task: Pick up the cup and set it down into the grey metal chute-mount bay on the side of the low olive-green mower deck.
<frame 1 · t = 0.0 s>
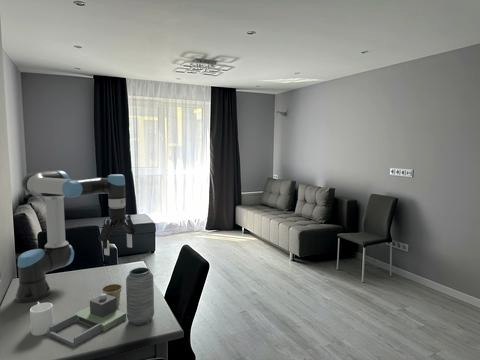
hand: (118, 250, 155), 28 cm above the table, fingers open, 13 cm apart
flower pot: (112, 305, 160), on the table
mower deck: (100, 318, 146), on the table
vase: (140, 320, 145), on the table
cup: (41, 328, 139), on the table
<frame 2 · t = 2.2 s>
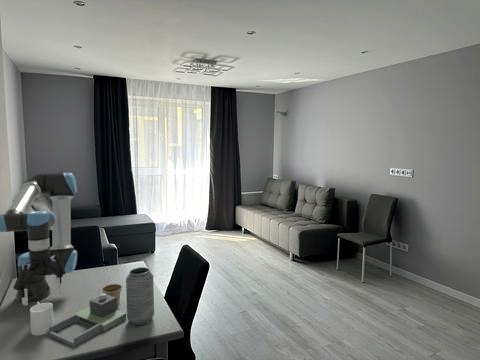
hand: (42, 297, 136), 14 cm above the table, fingers open, 13 cm apart
nothing on the table moved.
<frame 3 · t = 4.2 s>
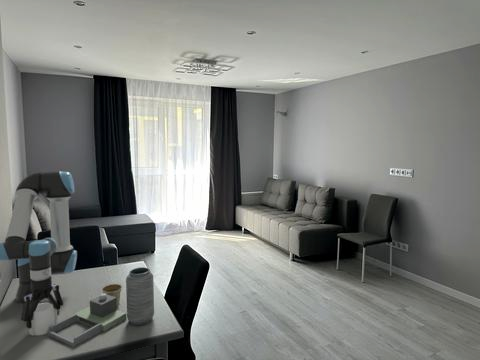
hand: (43, 328, 138), 0 cm above the table, fingers open, 9 cm apart
cup: (41, 328, 139), on the table, touching gripper
everything else where it was.
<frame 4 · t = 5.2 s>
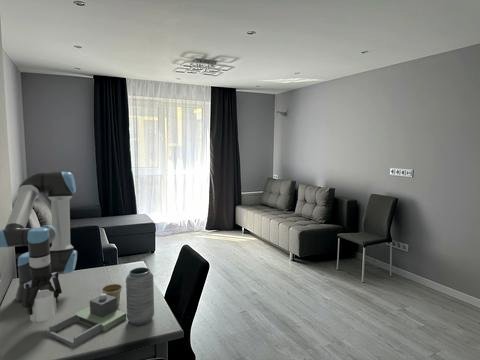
hand: (43, 315, 138), 6 cm above the table, fingers closed on cup, 8 cm apart
cup: (42, 315, 140), point 5 cm above the table, touching gripper
everything else where it was.
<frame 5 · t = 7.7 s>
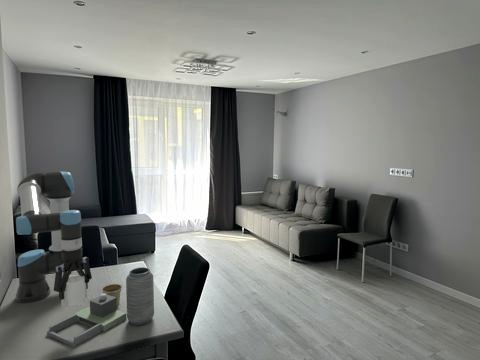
hand: (74, 301, 134), 13 cm above the table, fingers closed on cup, 8 cm apart
cup: (73, 301, 136), point 13 cm above the table, touching gripper
everything else where it was.
when the fingers open (3 cm above the table, at t = 10.3 s): cup drops 2 cm, resting in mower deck.
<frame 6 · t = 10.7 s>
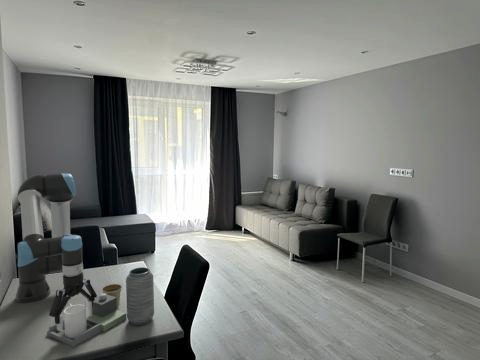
hand: (75, 322, 135), 4 cm above the table, fingers open, 13 cm apart
cup: (74, 330, 137), resting in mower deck
everything else where it was.
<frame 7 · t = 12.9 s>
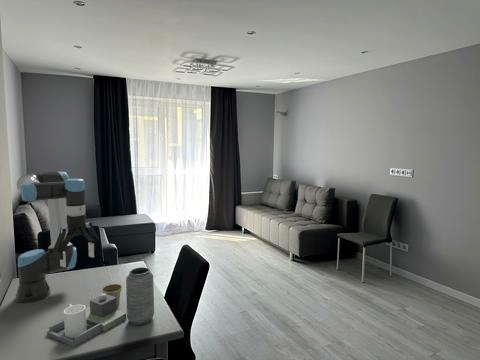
hand: (77, 261, 143), 27 cm above the table, fingers open, 13 cm apart
nothing on the table moved.
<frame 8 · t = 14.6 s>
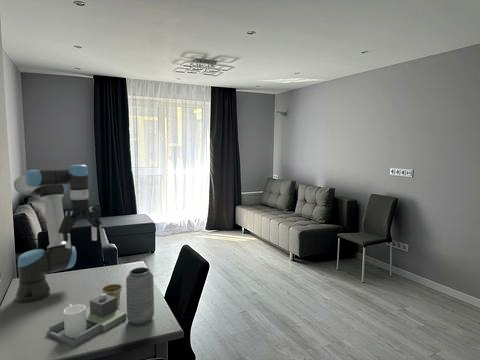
hand: (81, 244, 150), 33 cm above the table, fingers open, 13 cm apart
nothing on the table moved.
at the end: cup inside the target area (2.0 cm from its centre), resting in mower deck; cup tilted 0°; the gripper is holding nothing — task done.
